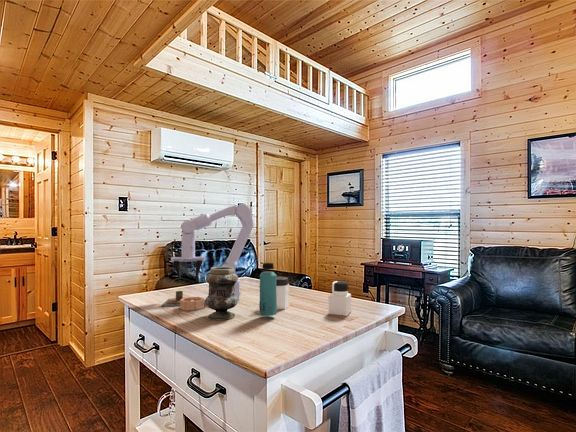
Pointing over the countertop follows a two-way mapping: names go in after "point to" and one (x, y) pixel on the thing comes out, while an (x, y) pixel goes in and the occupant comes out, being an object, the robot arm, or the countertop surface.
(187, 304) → the bowl
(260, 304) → the beverage bottle
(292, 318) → the countertop surface
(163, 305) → the mat
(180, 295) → the lid
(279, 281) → the jar
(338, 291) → the medicine bottle
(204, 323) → the countertop surface
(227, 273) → the apothecary jar
